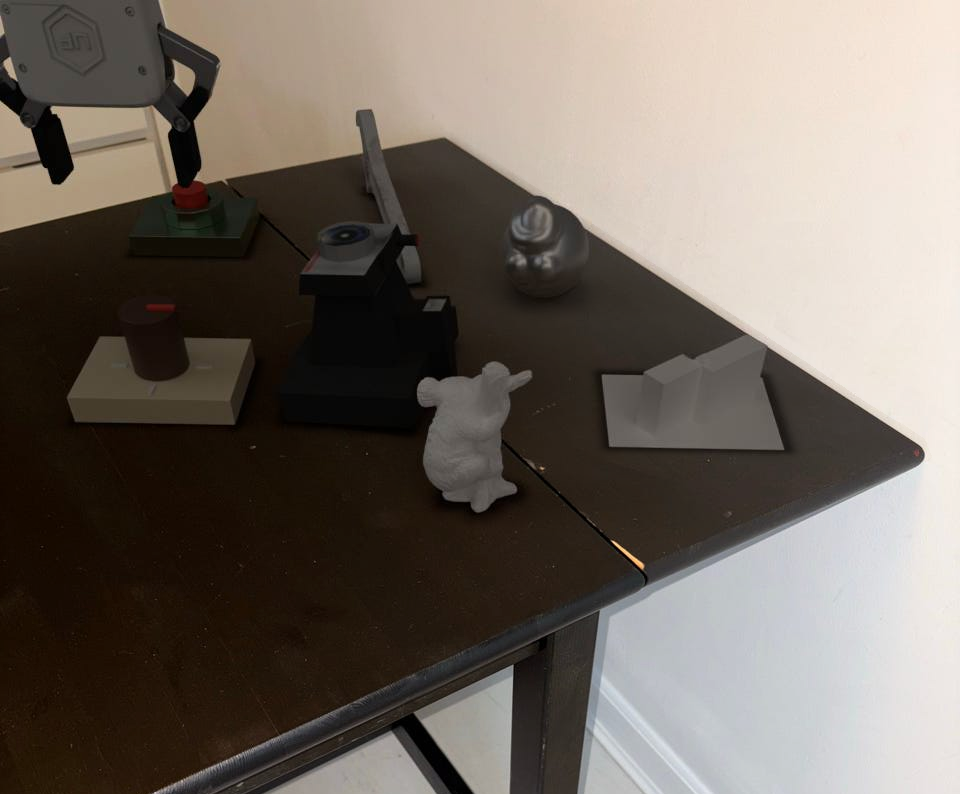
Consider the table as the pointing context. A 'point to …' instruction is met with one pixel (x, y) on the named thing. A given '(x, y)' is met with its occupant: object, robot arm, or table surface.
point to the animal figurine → (469, 434)
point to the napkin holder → (695, 402)
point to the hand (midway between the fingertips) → (126, 179)
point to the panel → (164, 385)
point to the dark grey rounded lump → (544, 248)
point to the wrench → (385, 191)
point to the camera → (366, 333)
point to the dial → (154, 337)
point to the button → (190, 195)
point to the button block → (195, 227)
